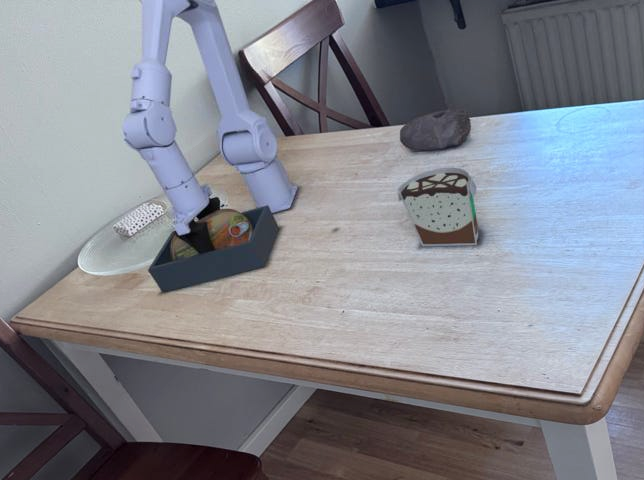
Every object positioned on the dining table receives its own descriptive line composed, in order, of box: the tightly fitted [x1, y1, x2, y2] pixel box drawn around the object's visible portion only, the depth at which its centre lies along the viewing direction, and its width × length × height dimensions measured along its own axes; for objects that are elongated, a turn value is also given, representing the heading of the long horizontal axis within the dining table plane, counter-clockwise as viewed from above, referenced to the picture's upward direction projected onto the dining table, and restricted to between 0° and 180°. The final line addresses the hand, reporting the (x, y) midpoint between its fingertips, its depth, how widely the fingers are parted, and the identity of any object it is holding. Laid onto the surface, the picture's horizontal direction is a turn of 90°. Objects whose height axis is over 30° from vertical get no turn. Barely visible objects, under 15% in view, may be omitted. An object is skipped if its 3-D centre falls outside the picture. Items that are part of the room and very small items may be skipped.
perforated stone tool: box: [399, 107, 472, 152], centre depth 125 cm, size 15×5×7 cm, turn 67°
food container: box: [397, 166, 480, 247], centre depth 96 cm, size 12×6×10 cm, turn 65°
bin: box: [147, 205, 280, 293], centre depth 116 cm, size 14×20×5 cm
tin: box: [170, 208, 253, 261], centre depth 115 cm, size 15×3×8 cm, turn 117°
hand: (216, 248), depth 116 cm, fingers open, 6 cm apart
